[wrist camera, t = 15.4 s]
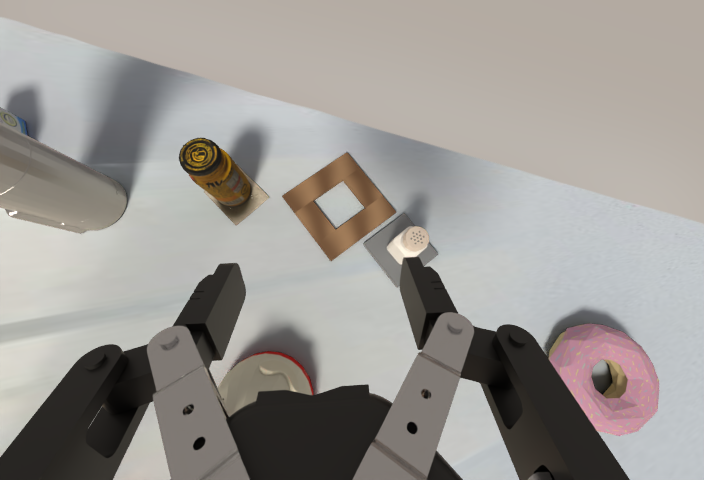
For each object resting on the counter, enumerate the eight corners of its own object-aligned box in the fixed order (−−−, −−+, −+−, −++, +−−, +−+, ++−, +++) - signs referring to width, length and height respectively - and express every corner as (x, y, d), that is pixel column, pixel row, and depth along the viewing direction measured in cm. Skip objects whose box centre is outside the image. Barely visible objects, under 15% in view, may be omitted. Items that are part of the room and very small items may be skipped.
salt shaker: (384, 247, 44) (396, 235, 35) (402, 233, 45) (418, 217, 36) (400, 266, 44) (416, 258, 34) (417, 251, 44) (438, 240, 35)
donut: (524, 389, 42) (549, 402, 37) (560, 304, 45) (587, 305, 40) (615, 445, 41) (653, 466, 36) (645, 354, 44) (684, 362, 39)
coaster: (396, 287, 44) (397, 287, 43) (363, 244, 45) (363, 243, 44) (437, 254, 45) (438, 254, 44) (403, 214, 46) (404, 213, 46)
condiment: (237, 164, 47) (203, 121, 35) (269, 197, 46) (245, 164, 34) (204, 192, 46) (157, 156, 34) (236, 226, 45) (199, 201, 33)
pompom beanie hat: (255, 333, 41) (209, 355, 27) (331, 382, 40) (326, 432, 26) (199, 420, 39) (113, 497, 24) (279, 474, 38) (240, 588, 23)
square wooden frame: (330, 261, 44) (330, 260, 44) (282, 197, 46) (281, 196, 45) (395, 212, 46) (396, 212, 46) (346, 153, 48) (346, 152, 48)
